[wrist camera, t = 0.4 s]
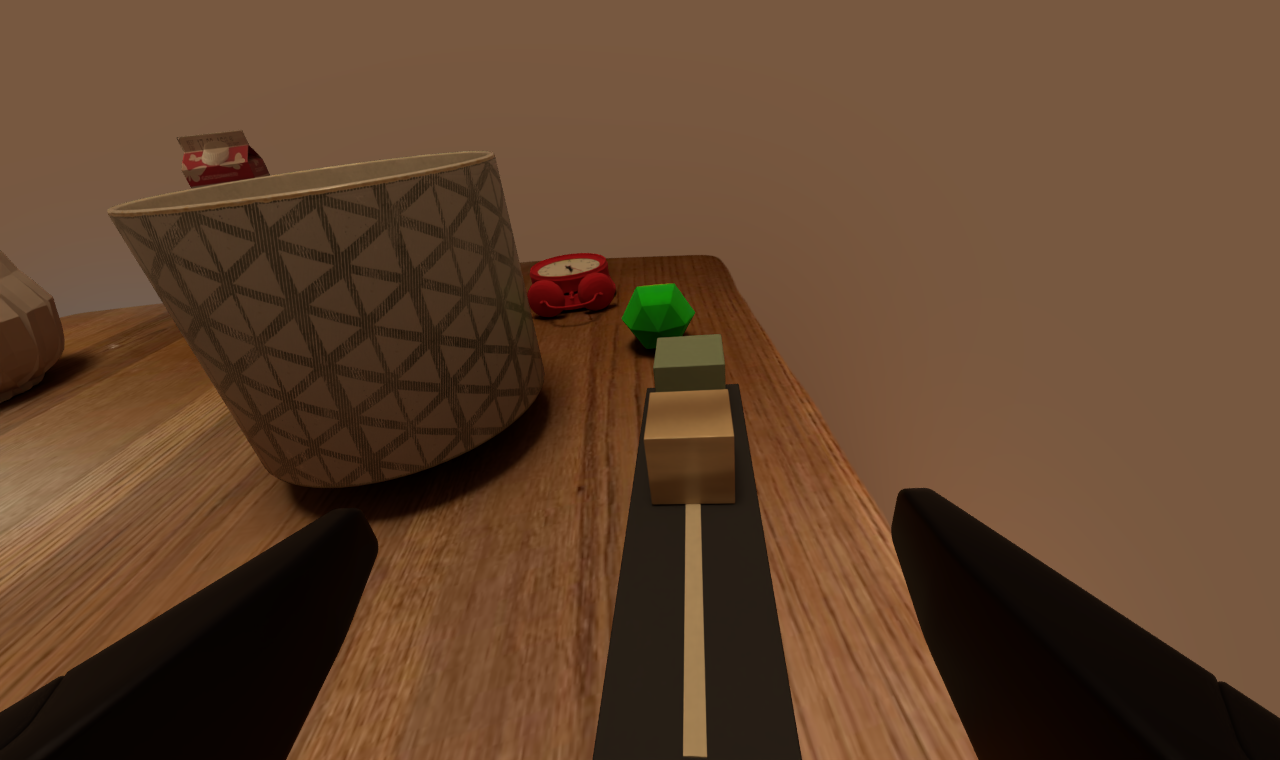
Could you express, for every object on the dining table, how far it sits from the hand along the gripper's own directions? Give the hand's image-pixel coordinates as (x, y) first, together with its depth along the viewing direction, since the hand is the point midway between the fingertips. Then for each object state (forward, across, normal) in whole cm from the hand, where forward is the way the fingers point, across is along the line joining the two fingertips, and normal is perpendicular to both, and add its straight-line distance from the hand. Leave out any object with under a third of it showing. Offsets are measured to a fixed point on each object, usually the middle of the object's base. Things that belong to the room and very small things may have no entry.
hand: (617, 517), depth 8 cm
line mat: (+14, -1, +14) cm, 20 cm away
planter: (+23, +19, +14) cm, 33 cm away
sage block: (+24, -1, +13) cm, 27 cm away
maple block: (+16, -1, +13) cm, 21 cm away
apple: (+37, +1, +14) cm, 39 cm away
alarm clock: (+49, +12, +13) cm, 52 cm away
